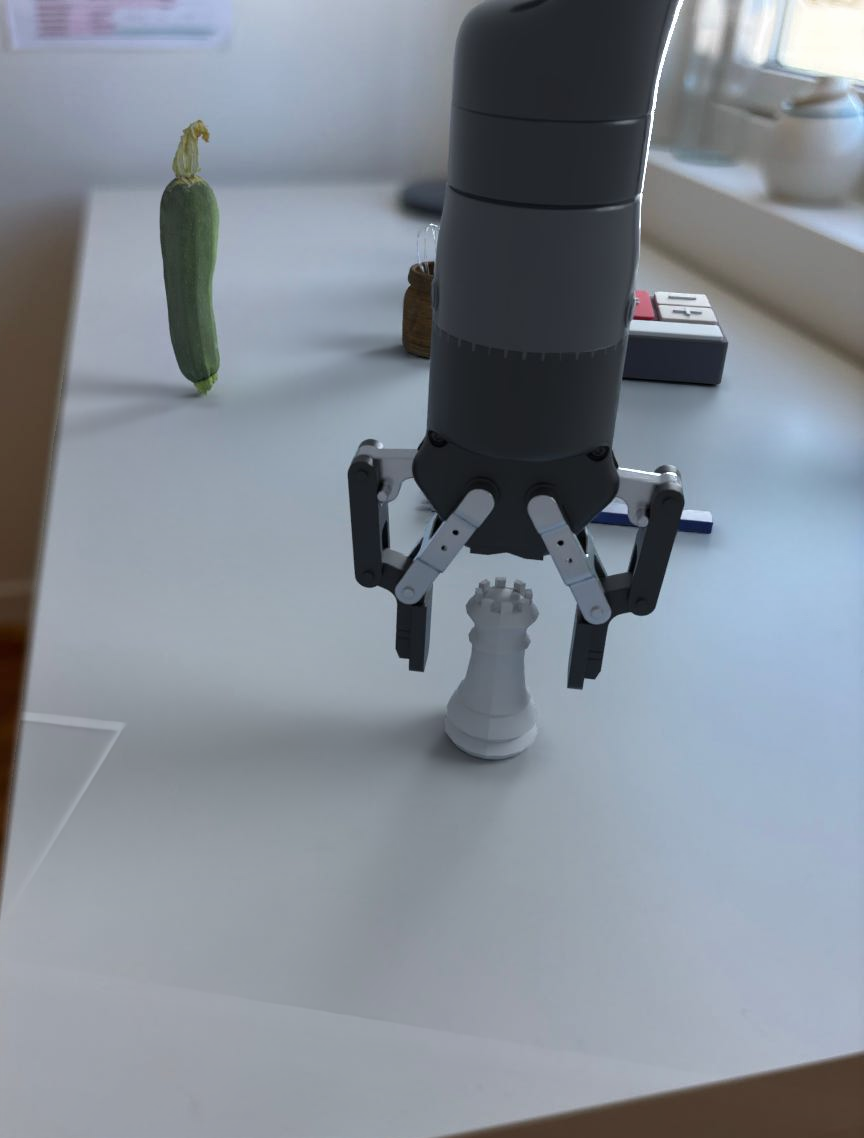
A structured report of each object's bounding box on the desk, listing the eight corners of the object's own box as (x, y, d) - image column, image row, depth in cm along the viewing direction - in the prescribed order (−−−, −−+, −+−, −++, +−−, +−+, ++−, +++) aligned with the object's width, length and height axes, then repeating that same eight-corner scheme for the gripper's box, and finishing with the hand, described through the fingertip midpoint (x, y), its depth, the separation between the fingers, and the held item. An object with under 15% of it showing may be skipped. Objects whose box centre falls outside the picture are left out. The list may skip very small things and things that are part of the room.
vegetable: (162, 394, 90) (139, 120, 79) (189, 376, 93) (171, 112, 82) (211, 403, 89) (195, 125, 78) (237, 385, 92) (225, 117, 81)
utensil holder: (390, 352, 99) (394, 210, 93) (419, 333, 104) (425, 196, 98) (452, 364, 97) (461, 219, 91) (479, 343, 102) (489, 204, 96)
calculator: (711, 291, 105) (731, 333, 92) (702, 337, 107) (721, 385, 94) (591, 283, 106) (595, 324, 93) (586, 329, 108) (588, 375, 96)
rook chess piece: (533, 770, 52) (552, 623, 48) (437, 757, 53) (447, 611, 48) (539, 713, 56) (557, 571, 51) (449, 701, 56) (459, 561, 52)
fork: (708, 518, 74) (710, 507, 74) (711, 538, 72) (714, 526, 71) (436, 492, 76) (436, 481, 76) (430, 510, 74) (431, 499, 74)
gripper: (715, 297, 45) (650, 644, 54) (362, 272, 47) (356, 612, 56) (733, 360, 39) (657, 739, 48) (326, 328, 41) (326, 700, 50)
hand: (495, 670), depth 52 cm, fingers open, 6 cm apart
